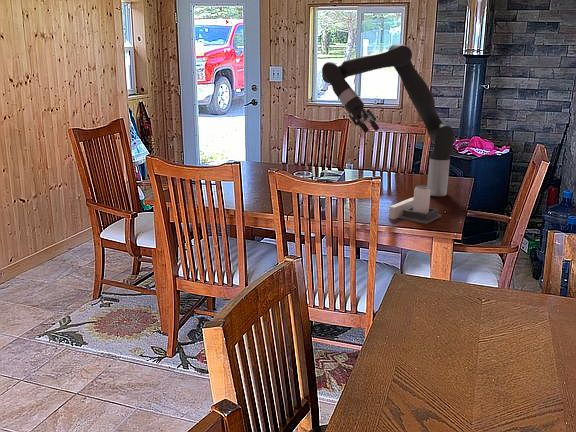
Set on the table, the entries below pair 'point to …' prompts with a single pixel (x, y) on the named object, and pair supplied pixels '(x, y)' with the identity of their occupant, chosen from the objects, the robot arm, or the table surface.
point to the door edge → (399, 208)
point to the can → (421, 199)
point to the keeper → (420, 215)
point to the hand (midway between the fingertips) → (372, 130)
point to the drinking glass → (321, 198)
